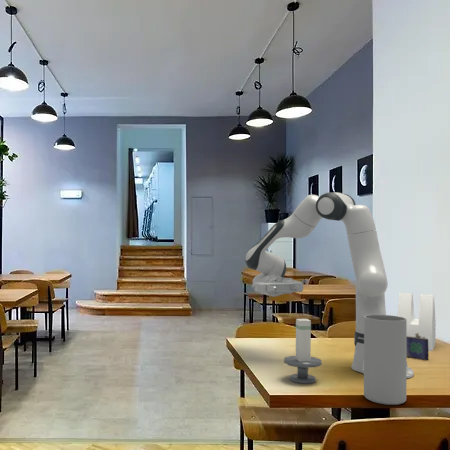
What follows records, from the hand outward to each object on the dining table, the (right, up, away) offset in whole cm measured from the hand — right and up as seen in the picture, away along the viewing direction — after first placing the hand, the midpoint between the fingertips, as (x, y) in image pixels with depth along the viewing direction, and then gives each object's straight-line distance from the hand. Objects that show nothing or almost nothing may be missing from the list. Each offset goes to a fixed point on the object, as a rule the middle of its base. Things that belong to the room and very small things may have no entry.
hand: (286, 288), depth 184 cm
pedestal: (+3, -29, -21) cm, 36 cm away
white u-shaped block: (+69, -34, +42) cm, 87 cm away
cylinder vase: (+25, -29, -39) cm, 55 cm away
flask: (+58, -32, +15) cm, 68 cm away
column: (+3, -22, -20) cm, 30 cm away
